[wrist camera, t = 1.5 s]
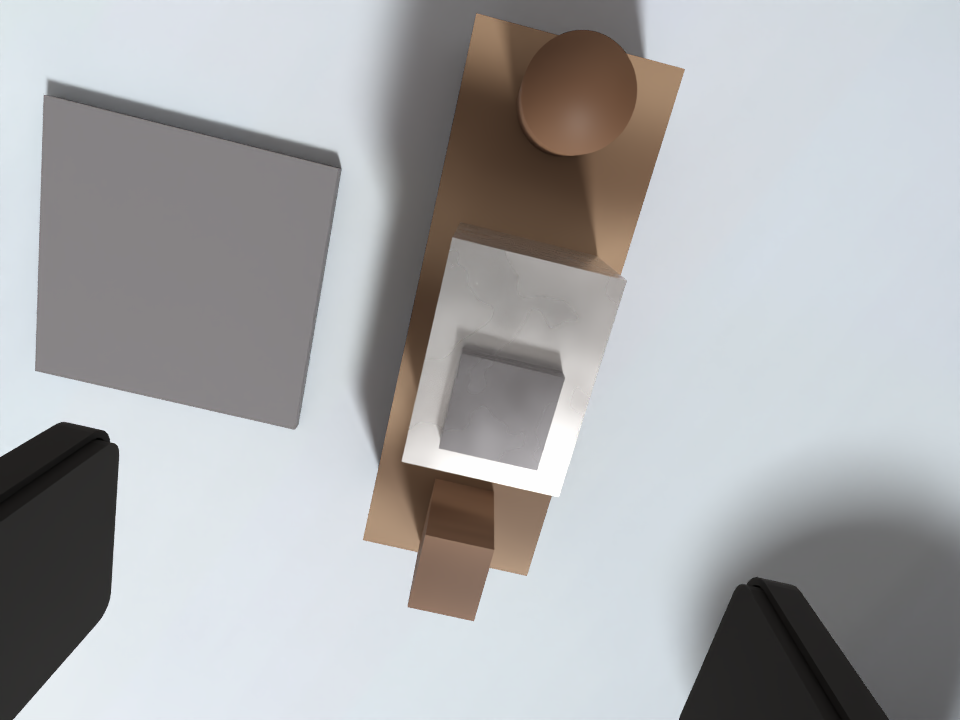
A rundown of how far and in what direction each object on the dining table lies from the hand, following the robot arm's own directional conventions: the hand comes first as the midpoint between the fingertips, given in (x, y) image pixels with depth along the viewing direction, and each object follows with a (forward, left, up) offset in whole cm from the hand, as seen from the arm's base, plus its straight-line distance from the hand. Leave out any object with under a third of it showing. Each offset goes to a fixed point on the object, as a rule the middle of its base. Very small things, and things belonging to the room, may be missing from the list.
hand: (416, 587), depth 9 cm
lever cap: (0, -2, -15) cm, 15 cm away
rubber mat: (-2, +12, -20) cm, 23 cm away
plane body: (0, -2, -20) cm, 20 cm away
